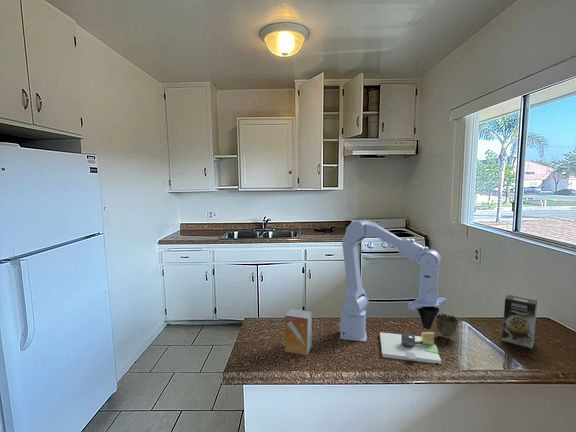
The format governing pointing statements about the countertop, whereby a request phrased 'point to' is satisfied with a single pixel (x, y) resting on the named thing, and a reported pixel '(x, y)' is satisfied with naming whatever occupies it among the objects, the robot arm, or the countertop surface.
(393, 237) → the robot arm
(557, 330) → the countertop surface
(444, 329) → the olive rounded piece
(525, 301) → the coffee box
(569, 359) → the countertop surface
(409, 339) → the grey and tan piece
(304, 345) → the small box
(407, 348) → the dial board
